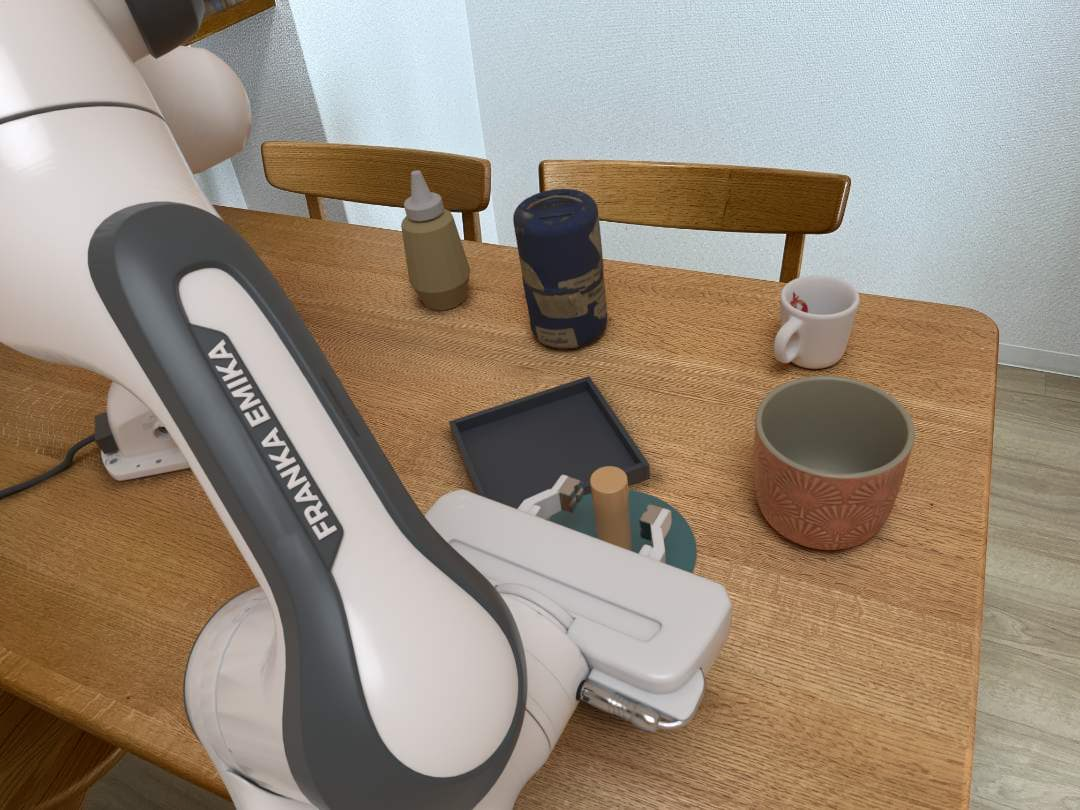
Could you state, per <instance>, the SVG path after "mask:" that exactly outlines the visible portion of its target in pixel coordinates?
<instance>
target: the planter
mask: <svg viewBox="0 0 1080 810" xmlns="http://www.w3.org/2000/svg"><path fill="white" fill-rule="evenodd" d="M915 438H916V430H915V425H914V422H913V419H912V417H911V415H910V413H909V412H908V411H907V409H906V408H905V407H904V406H903V404H902V403H901V402H900V401H898V399H896V398H895V397H894V396H892V395H891V394H890V393H888V392H886V391H885V390H883V389H881V388H880V387H878V386H875V385H873V384H871V383H867V382H865V381H862V380H859V379H854V378H850V377H844V376H840V375H839V376H838V375H814V376H813V375H811V376H805V377H799V378H796V379H792V380H790V381H787V382H785V383H782V384H780V385H779V386H777V387H775V388H774V389H772V390H771V391H770V392H769V393H767V394H766V395H765V396H764V398H763V399H762V400H761V401H760V403H759V404H758V407H757V409H756V412H755V417H754V447H753V448H754V452H753V479H754V489H755V497H756V501H757V504H758V508H759V509H760V512H761V514H762V516H763V517H764V518H765V520H766V521H767V523H768V524H769V525H770V526H771V527H772V529H774V530H775V531H776V532H777V533H778V534H780V535H781V536H782V537H784V538H786V539H787V540H789V541H791V542H793V543H796V544H798V545H800V546H803V547H806V548H810V549H814V550H822V551H837V550H845V549H849V548H853V547H856V546H859V545H861V544H863V543H865V542H866V541H868V540H870V539H872V537H874V536H875V535H877V533H878V532H879V531H880V530H881V529H882V527H883V526H884V525H885V523H886V522H887V520H888V518H889V516H890V515H891V513H892V510H893V509H894V506H895V503H896V501H897V498H898V495H899V493H900V489H901V486H902V483H903V480H904V477H905V473H906V470H907V467H908V464H909V460H910V457H911V454H912V450H913V446H914V444H915Z"/></svg>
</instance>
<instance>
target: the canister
mask: <svg viewBox="0 0 1080 810" xmlns="http://www.w3.org/2000/svg"><path fill="white" fill-rule="evenodd" d="M512 222H513V228H514V234H515V235H514V236H515V240H516V247H517V252H518V259H519V265H520V270H521V279H522V286H523V291H524V297H525V303H526V307H527V310H528V311H527V312H528V319H529V327H530V331H531V333H532V335H533V336H534V338H535V339H536V340H537V341H538V342H540V343H541V344H543V345H545V346H548V347H550V348H555V349H563V350H569V349H576V348H580V347H584V346H587V345H589V344H591V343H592V342H594V341H596V340H597V339H599V337H600V336H601V335H603V333H604V331H605V330H606V328H607V325H608V306H607V297H606V295H607V294H606V287H605V286H606V284H605V274H604V267H605V266H604V256H603V244H602V233H601V228H600V227H601V225H600V224H601V223H600V215H599V208H598V204H597V202H596V201H595V200H594V198H593V197H591V195H589V194H588V193H586V192H584V191H580V190H578V189H572V188H555V189H548V190H545V191H540V192H538V193H535V194H533V195H531V196H529V197H526V198H525V199H524V200H522V201H521V202H520V203H519V204H518V205H517V207H516V208H515V209H514V212H513V215H512Z"/></svg>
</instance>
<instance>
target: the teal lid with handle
mask: <svg viewBox="0 0 1080 810" xmlns="http://www.w3.org/2000/svg"><path fill="white" fill-rule="evenodd" d="M590 486H591V493H590V494H587V495H584V496H583V498H582V500H581V501H580V502H579V503H577V507H576V509H575V510H574V511H573V513H570V512H567V511H564V510H561V511H560V512H558V513H556V514H554V515H553V516H551V517H549V518H548V521H551V522H553V523H556V524H559V525H562V526H564V527H567V528H570V529H573V530H575V531H578V532H581V533H583V534H586V535H589V536H592V537H594V538H597V539H600V540H602V541H605V542H608V543H611V544H613V545H616V546H619V547H621V548H624V549H627V550H630V551H632V552H635V553H638V554H639V552H640V550H641V549H642V547H643V545H649V546H651V547H652V543H651V541H648V540H646V539H643V538H641V537H640V530H641V528H640V524H639V519H640V518H641V516H642V514H643V513H644V512H646V511H647V506H648V505H649V504H653V505H656V506H659V507H662V508H665V509H668V510H671V517H672V522H671V526H670V529H669V531H668V533H667V535H666V537H665V538H664V546H665V562H666V564H668V565H671V566H673V567H676V568H679V569H682V570H684V571H687V572H690V573H692V574H695V571H696V567H697V558H698V551H697V550H698V549H697V541H696V537H695V535H694V532H693V529H692V528H691V526H690V524H689V523H688V521H687V520H686V518H685V517H684V516H683V515H682V513H681V512H679V511H678V510H677V509H676V508H675V507H673V505H670V503H668V502H667V501H665V500H663V499H661V498H659V497H657V496H655V495H652V494H649V493H646V492H643V491H637V490H631V489H629V486H628V480H627V475H626V474H625V472H624V471H623V470H621V469H620V468H617V467H614V466H606V467H601V468H599V469H597V470H596V471H595V472H594V473H593V474H592V475H591V478H590Z"/></svg>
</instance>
